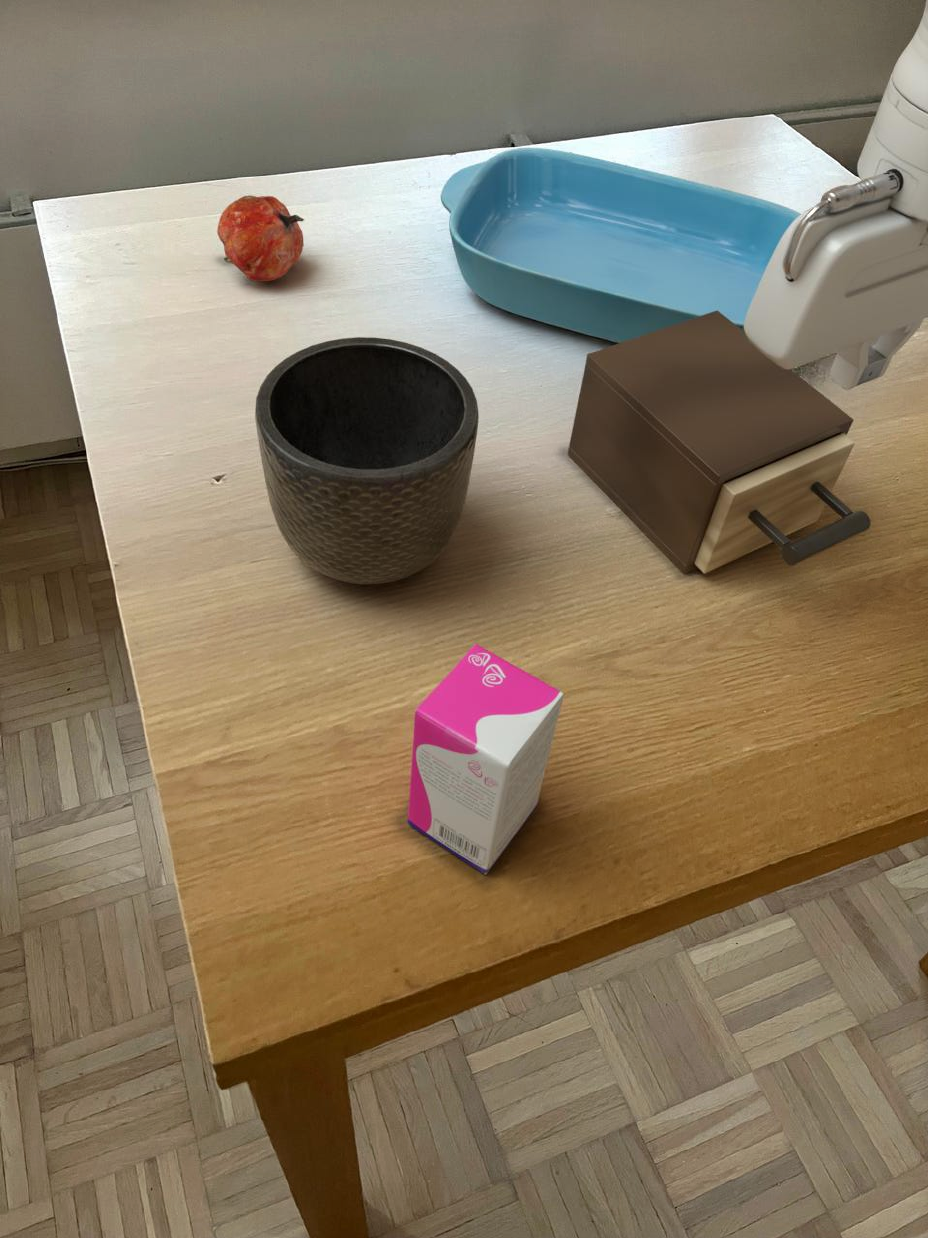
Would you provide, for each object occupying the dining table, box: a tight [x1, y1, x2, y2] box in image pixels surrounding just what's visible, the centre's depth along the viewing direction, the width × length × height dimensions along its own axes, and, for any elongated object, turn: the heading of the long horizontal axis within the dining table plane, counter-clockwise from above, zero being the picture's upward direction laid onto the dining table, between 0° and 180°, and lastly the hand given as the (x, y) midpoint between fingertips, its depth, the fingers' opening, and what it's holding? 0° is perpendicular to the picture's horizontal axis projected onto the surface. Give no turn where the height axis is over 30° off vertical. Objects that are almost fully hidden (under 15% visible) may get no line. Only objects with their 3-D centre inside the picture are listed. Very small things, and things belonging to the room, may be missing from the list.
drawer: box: [694, 433, 872, 575], centre depth 74 cm, size 18×11×8 cm, turn 32°
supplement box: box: [407, 643, 565, 876], centre depth 56 cm, size 6×6×12 cm
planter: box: [254, 336, 480, 586], centre depth 68 cm, size 14×14×13 cm
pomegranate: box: [216, 194, 306, 282], centre depth 92 cm, size 7×7×10 cm
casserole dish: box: [440, 147, 802, 344], centre depth 94 cm, size 37×22×7 cm, turn 72°
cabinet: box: [567, 310, 854, 575], centre depth 76 cm, size 15×13×10 cm
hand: (854, 378), depth 62 cm, fingers closed
